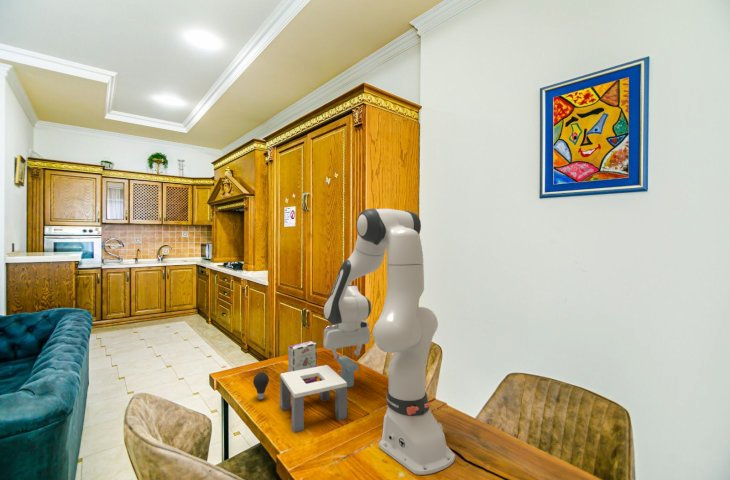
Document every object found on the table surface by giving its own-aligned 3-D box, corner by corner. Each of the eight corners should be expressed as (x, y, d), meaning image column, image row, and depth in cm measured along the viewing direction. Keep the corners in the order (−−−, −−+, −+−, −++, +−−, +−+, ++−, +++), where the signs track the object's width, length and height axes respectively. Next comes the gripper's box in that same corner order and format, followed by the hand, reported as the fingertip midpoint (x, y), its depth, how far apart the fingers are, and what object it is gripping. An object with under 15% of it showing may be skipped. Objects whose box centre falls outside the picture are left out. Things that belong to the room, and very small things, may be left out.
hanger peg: (358, 390, 132) (358, 365, 132) (349, 392, 130) (349, 366, 130) (345, 378, 142) (345, 355, 142) (337, 380, 140) (337, 357, 140)
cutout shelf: (346, 418, 110) (346, 382, 110) (294, 432, 102) (294, 394, 102) (326, 396, 126) (327, 364, 126) (280, 406, 118) (280, 373, 118)
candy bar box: (310, 378, 143) (311, 340, 143) (317, 381, 139) (317, 343, 139) (287, 385, 135) (287, 345, 135) (293, 389, 132) (293, 348, 132)
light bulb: (264, 403, 120) (264, 376, 120) (250, 402, 121) (250, 375, 121) (271, 396, 126) (271, 370, 126) (258, 395, 127) (258, 369, 127)
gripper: (326, 328, 128) (326, 363, 129) (372, 322, 138) (371, 355, 138) (321, 324, 134) (320, 358, 134) (365, 319, 144) (364, 350, 144)
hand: (346, 356), depth 136 cm, fingers open, 8 cm apart
